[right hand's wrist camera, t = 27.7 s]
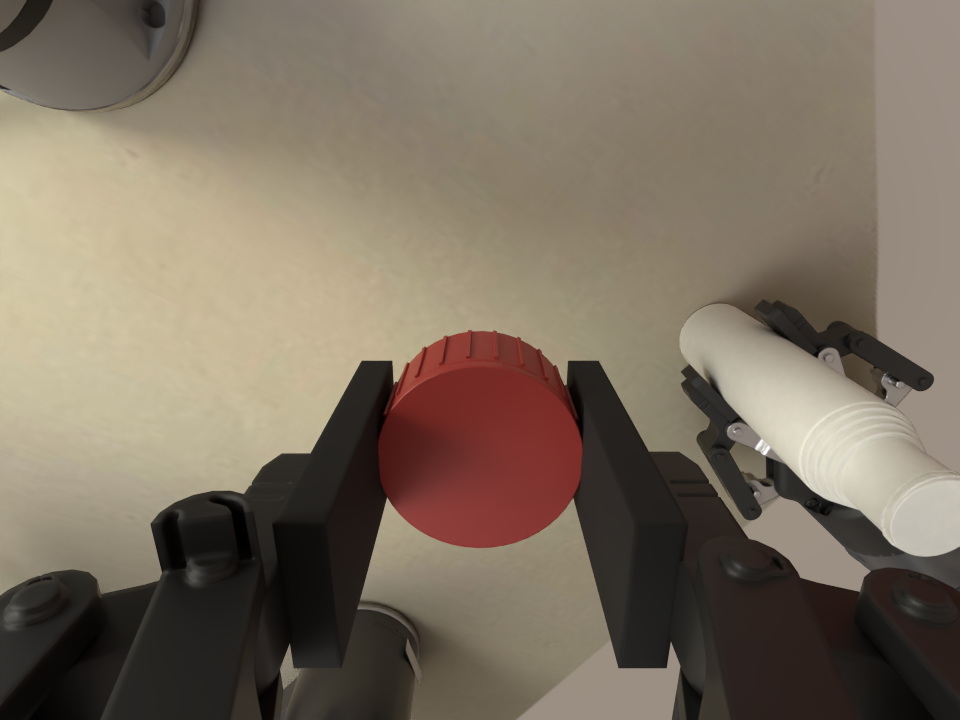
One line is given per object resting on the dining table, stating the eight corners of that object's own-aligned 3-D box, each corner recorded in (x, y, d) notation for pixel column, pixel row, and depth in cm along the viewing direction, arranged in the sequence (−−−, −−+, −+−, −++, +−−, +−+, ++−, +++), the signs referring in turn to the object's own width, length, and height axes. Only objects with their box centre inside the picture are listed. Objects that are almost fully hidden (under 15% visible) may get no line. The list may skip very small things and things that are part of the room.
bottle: (761, 313, 39) (1039, 478, 20) (731, 377, 41) (960, 587, 21) (695, 294, 39) (913, 444, 19) (668, 360, 40) (842, 558, 21)
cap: (353, 411, 14) (329, 460, 12) (482, 289, 13) (483, 318, 11) (478, 520, 16) (477, 583, 13) (607, 416, 14) (630, 465, 12)
